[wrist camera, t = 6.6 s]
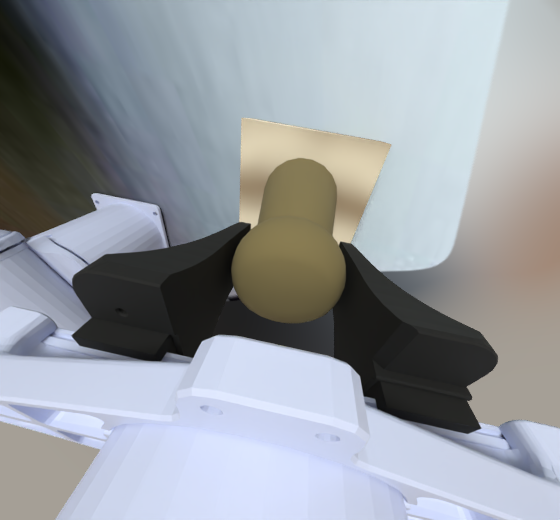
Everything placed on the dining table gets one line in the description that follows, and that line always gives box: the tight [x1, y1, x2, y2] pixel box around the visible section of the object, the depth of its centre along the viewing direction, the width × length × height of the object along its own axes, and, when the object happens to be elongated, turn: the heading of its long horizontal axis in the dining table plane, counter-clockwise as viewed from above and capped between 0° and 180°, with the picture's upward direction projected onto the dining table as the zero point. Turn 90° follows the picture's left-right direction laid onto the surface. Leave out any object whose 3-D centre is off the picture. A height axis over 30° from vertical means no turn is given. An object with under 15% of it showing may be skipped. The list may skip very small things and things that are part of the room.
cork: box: [231, 158, 346, 323], centre depth 12 cm, size 6×6×11 cm
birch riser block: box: [239, 118, 391, 245], centre depth 18 cm, size 11×11×2 cm
